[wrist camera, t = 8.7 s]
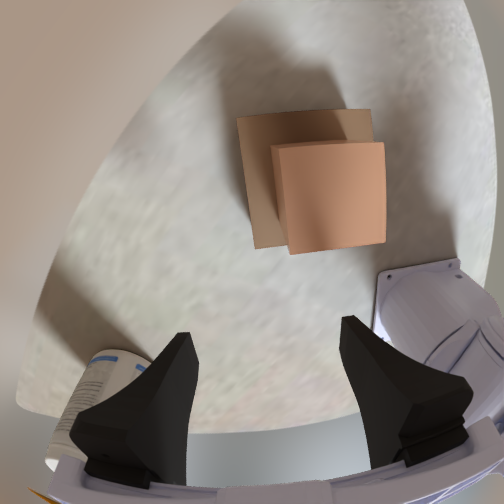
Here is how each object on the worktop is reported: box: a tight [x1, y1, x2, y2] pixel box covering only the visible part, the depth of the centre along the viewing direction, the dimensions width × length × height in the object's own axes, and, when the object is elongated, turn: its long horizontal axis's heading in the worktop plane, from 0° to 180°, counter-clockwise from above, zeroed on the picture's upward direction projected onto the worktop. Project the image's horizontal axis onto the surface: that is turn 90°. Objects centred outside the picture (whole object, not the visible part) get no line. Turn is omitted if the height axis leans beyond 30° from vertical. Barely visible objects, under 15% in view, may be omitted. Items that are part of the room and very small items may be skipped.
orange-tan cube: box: [270, 140, 386, 255], centre depth 14 cm, size 5×5×5 cm
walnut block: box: [236, 109, 374, 249], centre depth 18 cm, size 8×8×4 cm
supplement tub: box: [45, 349, 151, 472], centre depth 21 cm, size 10×10×15 cm
